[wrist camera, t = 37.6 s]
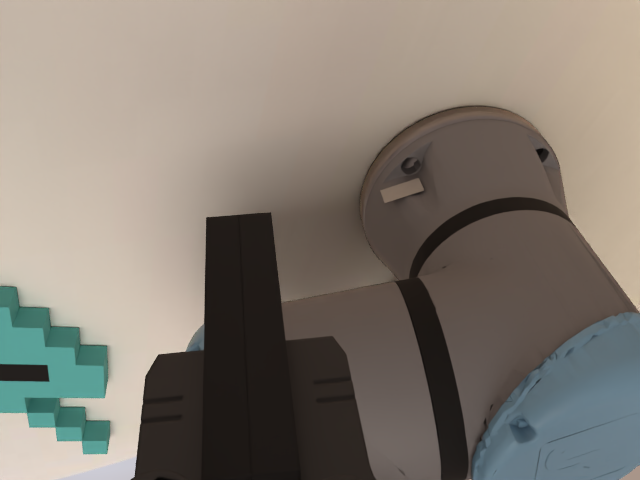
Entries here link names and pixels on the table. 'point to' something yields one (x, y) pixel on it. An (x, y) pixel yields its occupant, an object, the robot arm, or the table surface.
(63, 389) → the alien figure
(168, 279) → the table surface
